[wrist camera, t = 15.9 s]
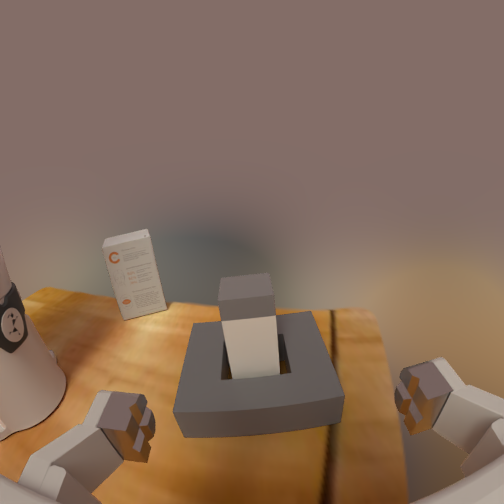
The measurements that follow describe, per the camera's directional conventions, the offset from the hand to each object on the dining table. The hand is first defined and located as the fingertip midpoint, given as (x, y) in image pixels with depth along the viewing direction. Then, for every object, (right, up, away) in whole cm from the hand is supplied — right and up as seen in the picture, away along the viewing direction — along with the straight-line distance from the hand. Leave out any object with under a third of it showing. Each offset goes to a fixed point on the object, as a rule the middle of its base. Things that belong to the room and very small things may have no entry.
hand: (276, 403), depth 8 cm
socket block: (0, -10, +22) cm, 24 cm away
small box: (-20, -5, +41) cm, 46 cm away
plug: (0, -10, +22) cm, 24 cm away
